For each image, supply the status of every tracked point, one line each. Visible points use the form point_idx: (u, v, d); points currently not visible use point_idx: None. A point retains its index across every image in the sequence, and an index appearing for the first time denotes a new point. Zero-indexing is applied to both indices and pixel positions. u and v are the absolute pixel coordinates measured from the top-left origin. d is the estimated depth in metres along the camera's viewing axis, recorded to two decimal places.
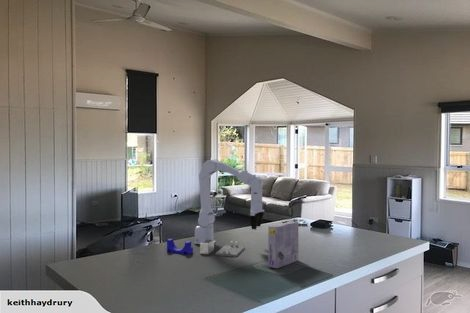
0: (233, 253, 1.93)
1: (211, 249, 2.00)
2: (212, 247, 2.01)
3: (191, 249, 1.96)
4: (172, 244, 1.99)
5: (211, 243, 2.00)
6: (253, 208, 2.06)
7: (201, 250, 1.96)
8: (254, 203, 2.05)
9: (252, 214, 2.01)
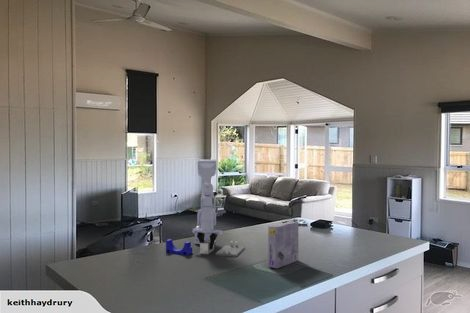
0: (233, 253, 1.93)
1: (211, 249, 2.00)
2: None
3: (190, 249, 1.95)
4: (171, 245, 1.98)
5: None
6: None
7: (201, 250, 1.96)
8: None
9: None
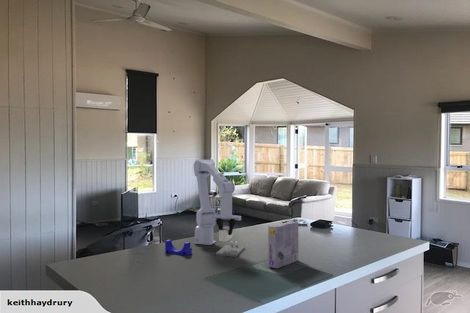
0: (233, 253, 1.93)
1: (230, 236, 2.00)
2: None
3: (190, 250, 1.95)
4: (171, 245, 1.97)
5: None
6: None
7: (220, 237, 1.95)
8: None
9: None
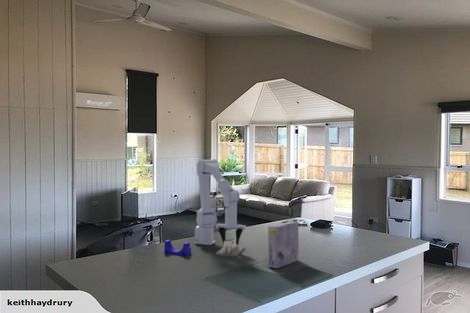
0: (233, 253, 1.93)
1: (235, 247, 2.00)
2: (235, 245, 2.01)
3: (189, 250, 1.94)
4: (170, 246, 1.96)
5: (234, 241, 1.99)
6: None
7: None
8: None
9: None
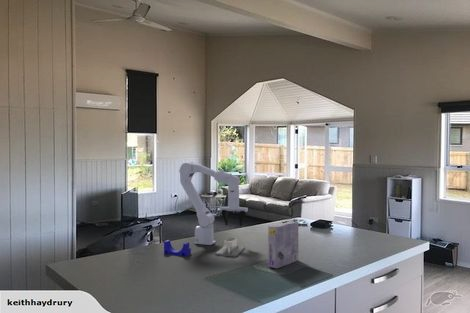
0: (233, 253, 1.93)
1: (235, 247, 2.00)
2: (235, 245, 2.01)
3: (189, 250, 1.93)
4: (170, 246, 1.96)
5: (234, 241, 1.99)
6: None
7: None
8: None
9: None
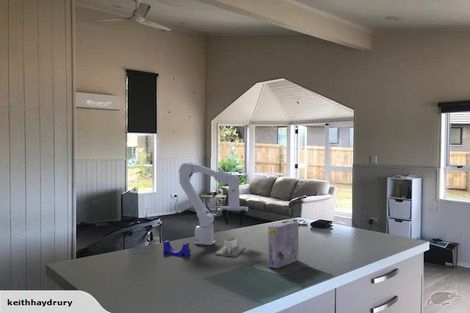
0: (233, 253, 1.93)
1: (235, 247, 2.00)
2: (235, 245, 2.01)
3: (189, 251, 1.93)
4: (169, 246, 1.95)
5: (234, 241, 1.99)
6: None
7: None
8: None
9: None
